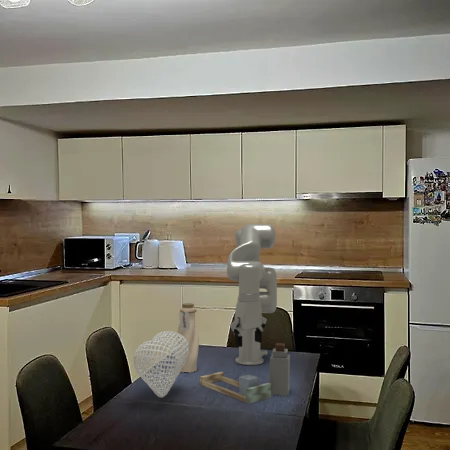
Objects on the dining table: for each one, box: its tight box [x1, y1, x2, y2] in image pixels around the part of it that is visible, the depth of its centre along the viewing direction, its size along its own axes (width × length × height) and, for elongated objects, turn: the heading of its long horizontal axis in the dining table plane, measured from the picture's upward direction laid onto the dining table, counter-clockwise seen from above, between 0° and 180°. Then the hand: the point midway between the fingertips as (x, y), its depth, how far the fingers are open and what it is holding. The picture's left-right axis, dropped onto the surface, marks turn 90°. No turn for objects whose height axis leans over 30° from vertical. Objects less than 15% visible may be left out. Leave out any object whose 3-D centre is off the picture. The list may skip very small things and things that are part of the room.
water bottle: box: [177, 302, 200, 374], centre depth 232 cm, size 10×9×28 cm
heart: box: [133, 330, 189, 398], centre depth 198 cm, size 28×16×22 cm, turn 168°
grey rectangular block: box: [238, 374, 260, 396], centre depth 200 cm, size 5×5×7 cm
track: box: [199, 371, 272, 405], centre depth 206 cm, size 11×28×5 cm, turn 40°
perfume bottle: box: [269, 342, 291, 397], centre depth 205 cm, size 7×7×18 cm
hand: (248, 344), depth 202 cm, fingers open, 9 cm apart
